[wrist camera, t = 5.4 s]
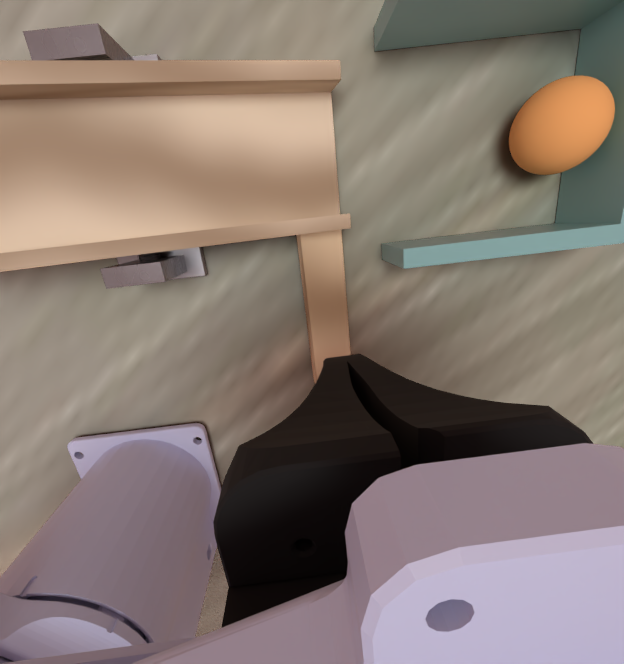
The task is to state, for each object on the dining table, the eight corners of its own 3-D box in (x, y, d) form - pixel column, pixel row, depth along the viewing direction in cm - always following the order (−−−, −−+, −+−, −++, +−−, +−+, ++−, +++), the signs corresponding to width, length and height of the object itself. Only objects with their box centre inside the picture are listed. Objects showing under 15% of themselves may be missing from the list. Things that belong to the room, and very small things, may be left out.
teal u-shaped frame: (567, 237, 17) (635, 241, 13) (382, 259, 17) (403, 268, 13) (602, 3, 14) (702, -68, 10) (373, 27, 13) (399, -36, 10)
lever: (347, 373, 18) (368, 397, 16) (-26, 459, 14) (-79, 509, 12) (323, 82, 14) (347, 49, 11) (-232, 92, 10) (-392, 43, 7)
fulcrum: (207, 273, 16) (186, 286, 13) (129, 283, 16) (89, 298, 13) (161, 59, 13) (119, 8, 10) (65, 70, 13) (-7, 22, 10)
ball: (488, 182, 15) (537, 178, 16) (571, 169, 12) (625, 164, 13) (494, 94, 14) (547, 96, 15) (587, 53, 11) (645, 60, 12)
